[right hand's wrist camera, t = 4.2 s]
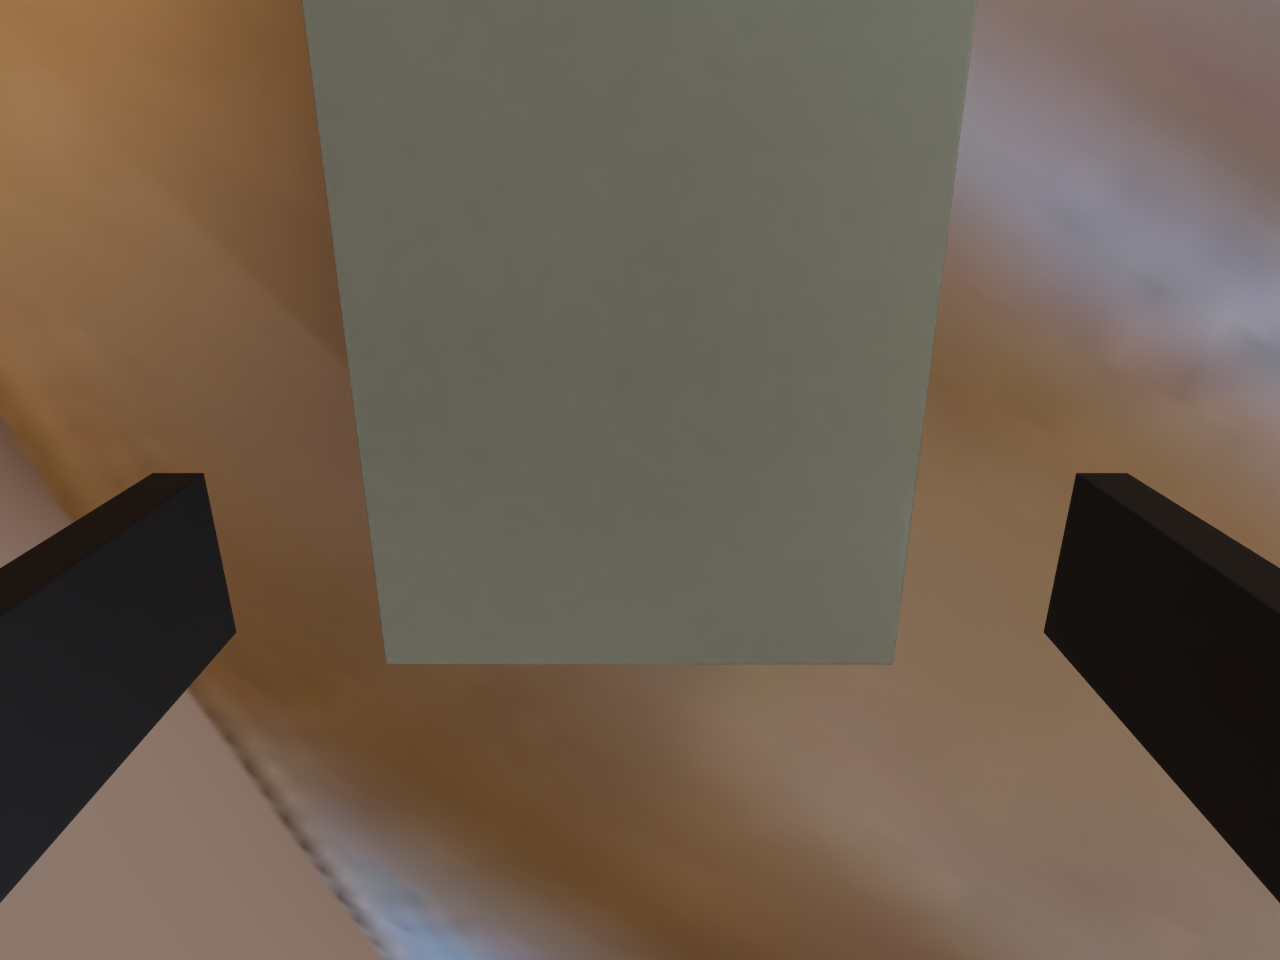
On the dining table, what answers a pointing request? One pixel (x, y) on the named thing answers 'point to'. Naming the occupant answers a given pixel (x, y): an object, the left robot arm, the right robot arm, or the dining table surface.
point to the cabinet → (639, 316)
